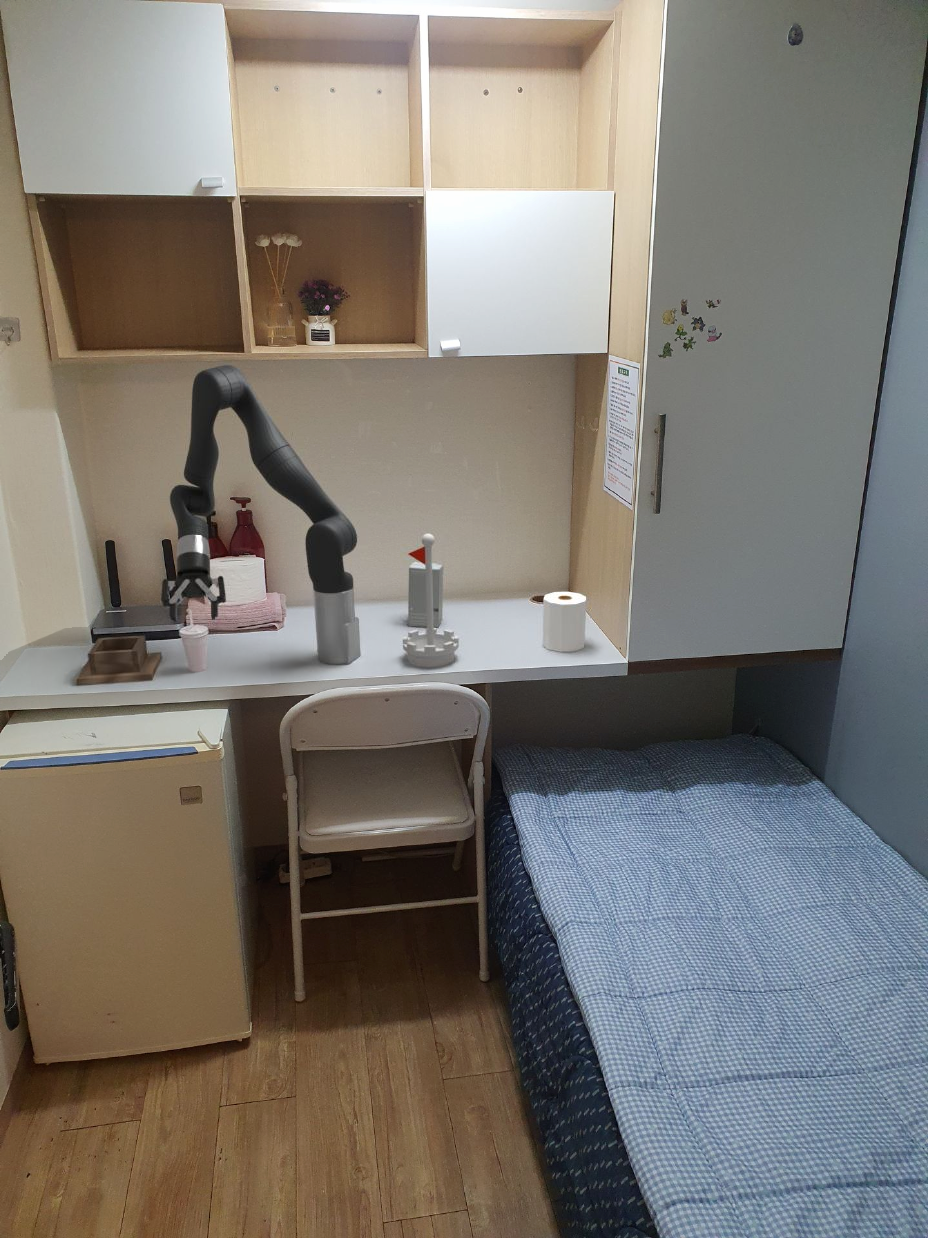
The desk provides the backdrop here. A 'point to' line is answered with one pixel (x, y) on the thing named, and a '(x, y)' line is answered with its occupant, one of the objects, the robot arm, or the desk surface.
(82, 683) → the socket board
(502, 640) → the desk surface
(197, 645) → the smoothie
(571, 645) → the toilet paper
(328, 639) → the robot arm
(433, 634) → the flag stand
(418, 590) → the skincare box
